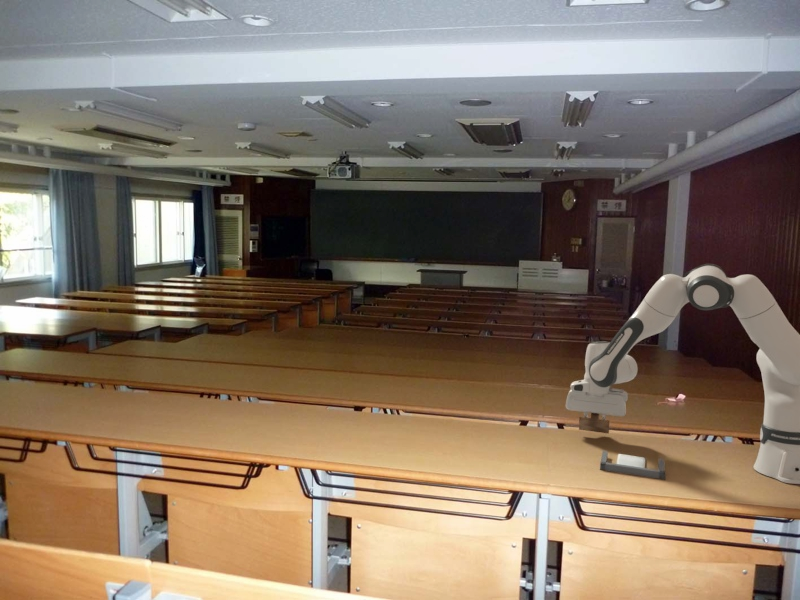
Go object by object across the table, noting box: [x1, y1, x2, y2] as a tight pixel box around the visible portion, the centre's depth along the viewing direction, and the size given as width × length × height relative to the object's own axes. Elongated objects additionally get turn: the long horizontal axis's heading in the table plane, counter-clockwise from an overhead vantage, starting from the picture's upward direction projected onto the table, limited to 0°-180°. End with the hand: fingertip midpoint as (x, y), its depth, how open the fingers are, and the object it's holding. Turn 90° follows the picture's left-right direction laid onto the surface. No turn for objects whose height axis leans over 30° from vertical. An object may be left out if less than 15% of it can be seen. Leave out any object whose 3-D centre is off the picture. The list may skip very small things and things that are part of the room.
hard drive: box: [615, 453, 646, 468], centre depth 190 cm, size 2×8×12 cm
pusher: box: [578, 413, 610, 434], centre depth 217 cm, size 10×7×5 cm
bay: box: [599, 450, 666, 480], centre depth 187 cm, size 18×12×2 cm
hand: (594, 425), depth 217 cm, fingers closed on pusher, 2 cm apart
